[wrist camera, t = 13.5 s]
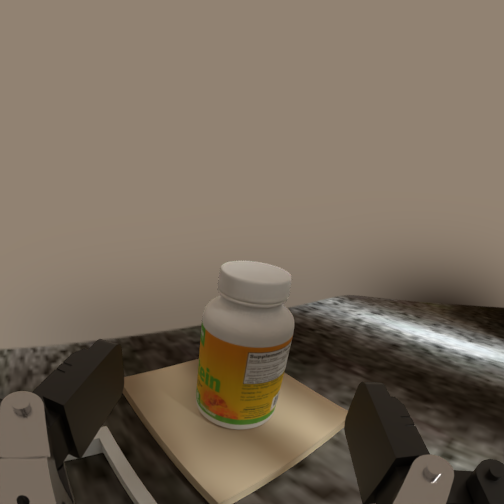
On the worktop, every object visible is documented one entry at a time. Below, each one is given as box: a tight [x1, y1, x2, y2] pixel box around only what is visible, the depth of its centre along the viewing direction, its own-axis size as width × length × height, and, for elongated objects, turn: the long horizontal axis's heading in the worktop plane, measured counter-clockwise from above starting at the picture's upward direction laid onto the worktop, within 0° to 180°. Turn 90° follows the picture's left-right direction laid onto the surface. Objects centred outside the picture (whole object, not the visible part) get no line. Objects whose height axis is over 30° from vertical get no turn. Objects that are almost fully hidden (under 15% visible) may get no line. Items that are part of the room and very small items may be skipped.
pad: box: [122, 359, 348, 504], centre depth 20 cm, size 12×12×1 cm
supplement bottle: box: [196, 261, 294, 430], centre depth 18 cm, size 5×5×10 cm
